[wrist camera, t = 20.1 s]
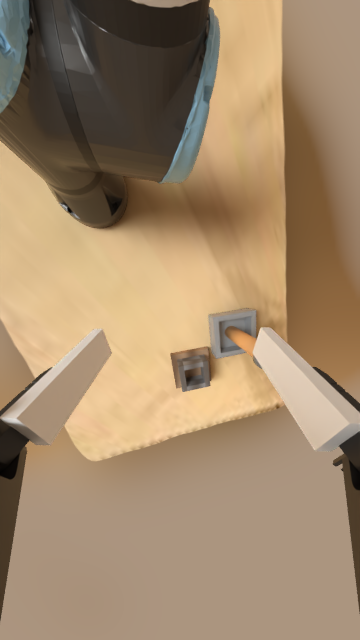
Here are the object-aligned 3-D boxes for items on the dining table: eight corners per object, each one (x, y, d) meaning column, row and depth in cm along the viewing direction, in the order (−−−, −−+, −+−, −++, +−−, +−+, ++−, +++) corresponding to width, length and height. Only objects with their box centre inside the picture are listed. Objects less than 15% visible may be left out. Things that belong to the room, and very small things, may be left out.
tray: (211, 352, 44) (216, 358, 40) (208, 314, 41) (213, 317, 37) (248, 345, 45) (256, 350, 41) (247, 308, 42) (256, 310, 38)
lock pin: (222, 341, 43) (256, 372, 27) (221, 324, 41) (256, 347, 26) (239, 338, 43) (281, 366, 28) (238, 322, 42) (282, 342, 26)
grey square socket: (176, 385, 45) (177, 397, 40) (170, 353, 42) (171, 362, 37) (209, 377, 46) (215, 389, 41) (206, 346, 43) (212, 354, 38)
